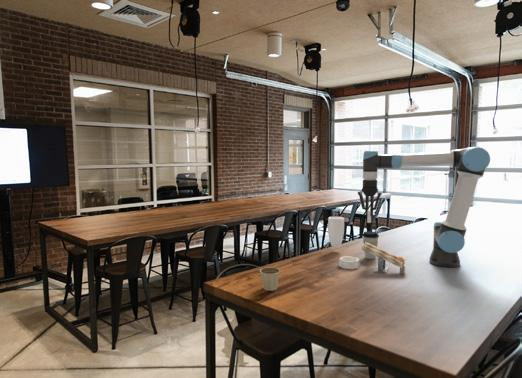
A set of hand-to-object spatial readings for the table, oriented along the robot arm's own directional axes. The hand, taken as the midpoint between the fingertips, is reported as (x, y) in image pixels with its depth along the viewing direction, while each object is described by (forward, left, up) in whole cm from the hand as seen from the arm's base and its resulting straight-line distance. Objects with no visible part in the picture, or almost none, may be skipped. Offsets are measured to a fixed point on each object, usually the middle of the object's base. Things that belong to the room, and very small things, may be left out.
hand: (369, 222), depth 199 cm
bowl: (+9, +7, -24) cm, 26 cm away
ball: (-17, +7, -17) cm, 25 cm away
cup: (+24, -19, -24) cm, 38 cm away
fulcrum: (-12, +7, -24) cm, 28 cm away
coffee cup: (+2, -14, -24) cm, 28 cm away
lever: (-8, +4, -16) cm, 19 cm away
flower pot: (+33, +56, -24) cm, 70 cm away
